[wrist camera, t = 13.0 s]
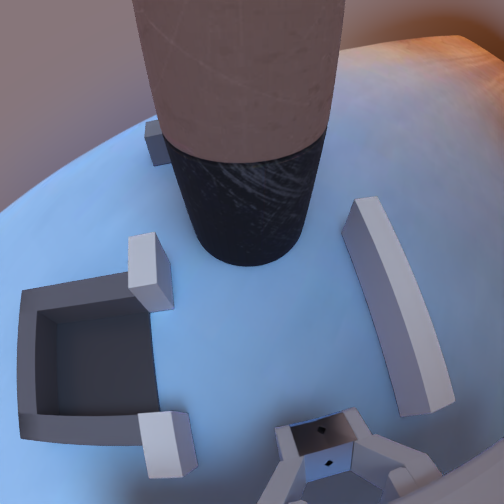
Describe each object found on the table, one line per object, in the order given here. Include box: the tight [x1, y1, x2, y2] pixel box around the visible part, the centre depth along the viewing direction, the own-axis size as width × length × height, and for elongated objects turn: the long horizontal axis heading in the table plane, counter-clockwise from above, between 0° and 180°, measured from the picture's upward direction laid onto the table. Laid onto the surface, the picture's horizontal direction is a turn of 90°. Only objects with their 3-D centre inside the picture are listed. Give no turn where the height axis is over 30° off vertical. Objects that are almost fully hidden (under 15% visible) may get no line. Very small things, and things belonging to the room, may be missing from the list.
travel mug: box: [132, 0, 345, 266], centre depth 12 cm, size 8×8×20 cm
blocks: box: [128, 196, 455, 479], centre depth 15 cm, size 12×14×4 cm
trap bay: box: [17, 272, 160, 446], centre depth 15 cm, size 9×8×2 cm
